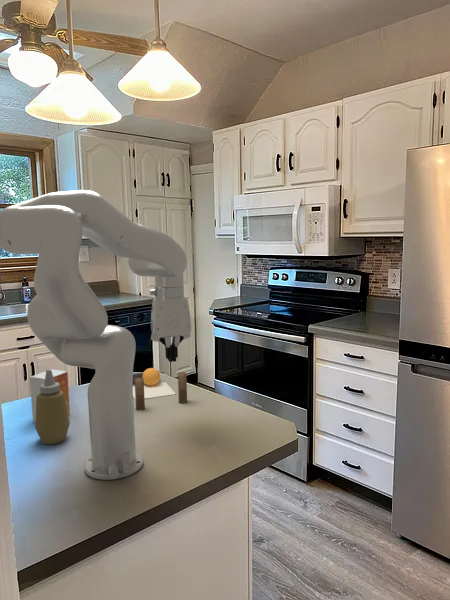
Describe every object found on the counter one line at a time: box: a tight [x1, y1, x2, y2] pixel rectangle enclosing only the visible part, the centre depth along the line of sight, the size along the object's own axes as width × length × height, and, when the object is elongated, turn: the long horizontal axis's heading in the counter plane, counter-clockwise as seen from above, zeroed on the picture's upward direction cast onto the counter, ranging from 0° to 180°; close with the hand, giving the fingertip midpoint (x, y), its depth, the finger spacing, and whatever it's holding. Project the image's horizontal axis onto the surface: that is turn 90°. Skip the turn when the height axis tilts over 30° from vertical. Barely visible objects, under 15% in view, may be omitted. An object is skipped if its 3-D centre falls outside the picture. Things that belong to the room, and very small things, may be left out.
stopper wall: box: [133, 370, 160, 386], centre depth 160 cm, size 2×10×4 cm, turn 112°
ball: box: [142, 367, 161, 386], centre depth 157 cm, size 6×6×6 cm
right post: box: [177, 371, 188, 404], centre depth 140 cm, size 3×3×9 cm
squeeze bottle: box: [35, 369, 71, 445], centre depth 115 cm, size 8×8×18 cm
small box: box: [29, 368, 71, 423], centre depth 129 cm, size 8×6×13 cm
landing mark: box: [133, 381, 176, 401], centre depth 151 cm, size 13×13×1 cm
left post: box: [134, 378, 146, 411], centre depth 135 cm, size 3×3×9 cm
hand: (171, 360), depth 124 cm, fingers closed
